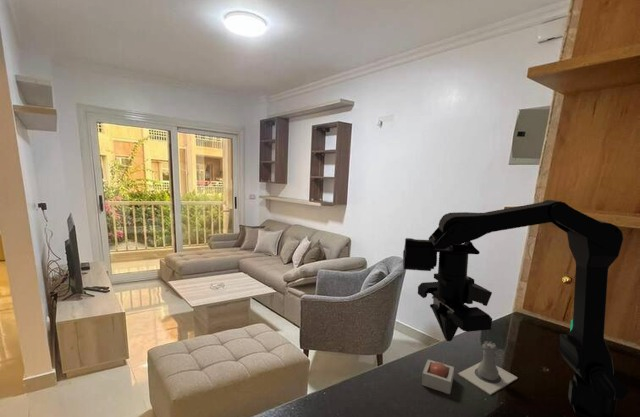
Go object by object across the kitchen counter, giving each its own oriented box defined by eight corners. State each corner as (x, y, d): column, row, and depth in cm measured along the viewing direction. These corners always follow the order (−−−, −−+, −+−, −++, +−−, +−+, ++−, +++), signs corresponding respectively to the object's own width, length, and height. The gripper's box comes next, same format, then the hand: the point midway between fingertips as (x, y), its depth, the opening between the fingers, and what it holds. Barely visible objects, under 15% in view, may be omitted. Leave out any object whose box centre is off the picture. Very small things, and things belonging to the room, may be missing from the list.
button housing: (453, 378, 73) (454, 367, 73) (449, 394, 68) (450, 382, 68) (427, 370, 76) (427, 359, 76) (422, 385, 71) (422, 372, 71)
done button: (447, 375, 72) (448, 365, 72) (445, 384, 69) (445, 374, 69) (431, 370, 74) (432, 360, 74) (428, 378, 71) (429, 369, 71)
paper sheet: (485, 360, 80) (485, 359, 80) (517, 378, 73) (517, 377, 73) (458, 374, 75) (458, 372, 75) (490, 395, 68) (490, 393, 68)
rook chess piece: (501, 375, 74) (503, 344, 73) (494, 384, 71) (497, 351, 70) (481, 366, 77) (483, 336, 76) (474, 374, 74) (476, 343, 73)
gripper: (520, 285, 58) (513, 362, 60) (459, 258, 76) (456, 317, 78) (467, 289, 56) (462, 368, 58) (418, 260, 74) (415, 321, 76)
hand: (448, 340), depth 68 cm, fingers closed
